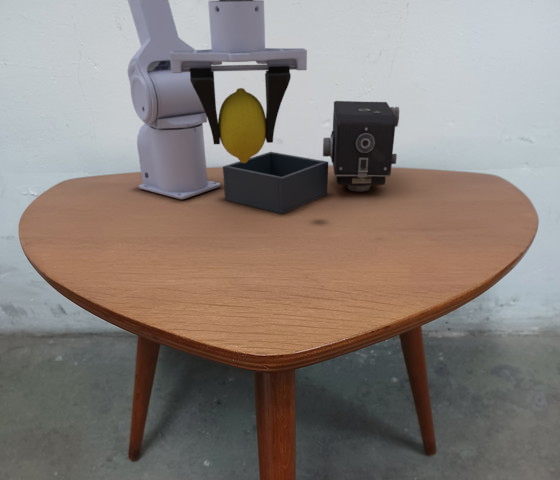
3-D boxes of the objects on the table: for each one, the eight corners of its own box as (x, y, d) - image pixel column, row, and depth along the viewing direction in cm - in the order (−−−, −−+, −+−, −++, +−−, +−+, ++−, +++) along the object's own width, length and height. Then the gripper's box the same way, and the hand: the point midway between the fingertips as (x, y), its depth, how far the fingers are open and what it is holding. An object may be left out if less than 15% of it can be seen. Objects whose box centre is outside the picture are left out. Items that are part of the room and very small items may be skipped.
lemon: (221, 158, 68) (216, 85, 63) (266, 156, 68) (264, 83, 63) (220, 170, 63) (215, 92, 59) (268, 168, 64) (267, 91, 59)
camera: (400, 205, 77) (386, 166, 88) (411, 119, 69) (395, 88, 81) (323, 205, 77) (319, 166, 88) (327, 119, 70) (322, 88, 81)
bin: (224, 199, 77) (222, 166, 74) (271, 183, 83) (270, 151, 81) (282, 214, 71) (282, 178, 69) (327, 194, 78) (328, 161, 75)
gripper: (161, 2, 53) (177, 151, 61) (311, 0, 54) (309, 147, 61) (167, 1, 59) (181, 137, 66) (302, -1, 60) (301, 134, 67)
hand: (242, 141), depth 64 cm, fingers closed on lemon, 5 cm apart
